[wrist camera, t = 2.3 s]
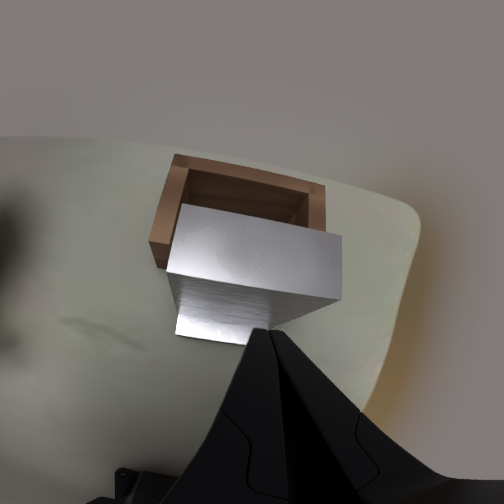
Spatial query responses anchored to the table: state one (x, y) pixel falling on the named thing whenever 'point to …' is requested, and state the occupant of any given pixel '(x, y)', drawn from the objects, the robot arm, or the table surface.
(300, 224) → the walnut u-shaped bracket
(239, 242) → the angle bracket
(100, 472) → the table surface
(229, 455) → the robot arm
